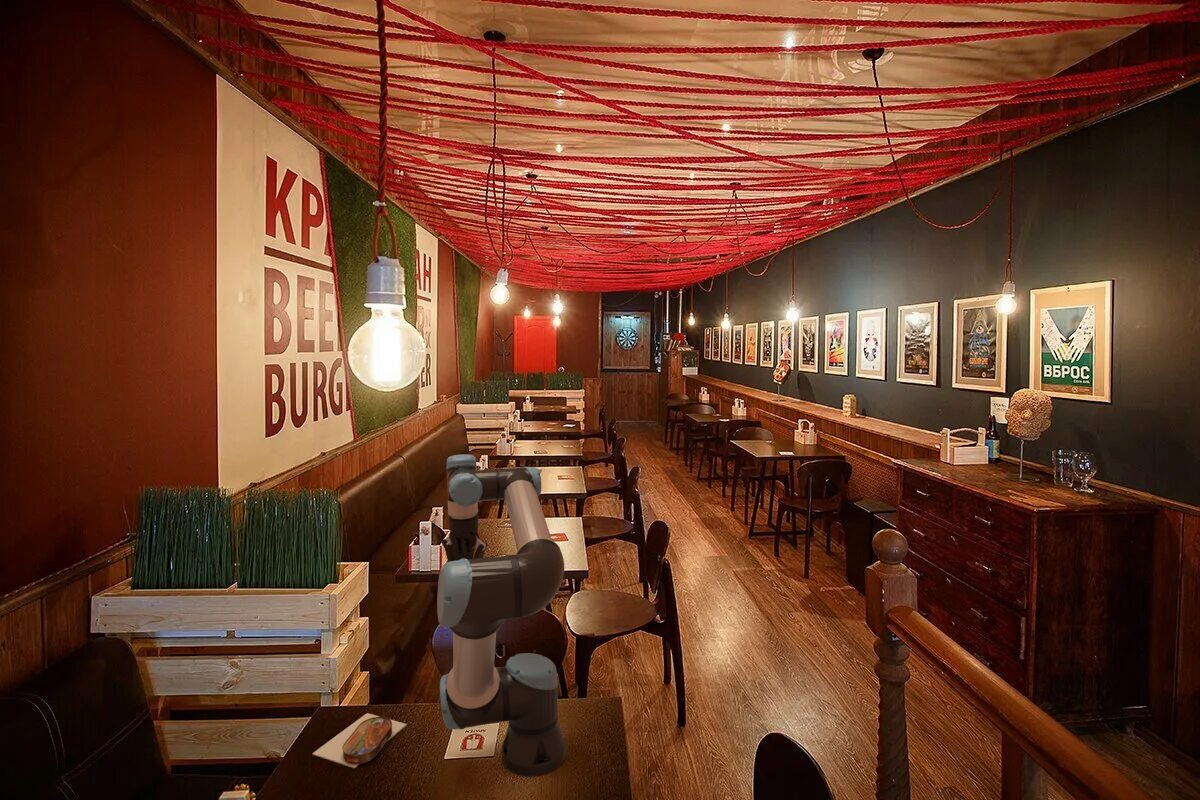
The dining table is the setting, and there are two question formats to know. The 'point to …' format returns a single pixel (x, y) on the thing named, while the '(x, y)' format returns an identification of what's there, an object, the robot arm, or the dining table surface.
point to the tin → (367, 740)
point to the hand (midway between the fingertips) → (466, 603)
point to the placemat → (335, 745)
